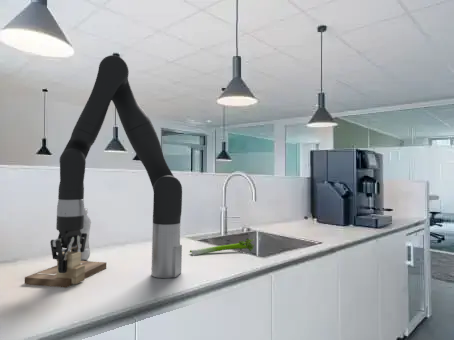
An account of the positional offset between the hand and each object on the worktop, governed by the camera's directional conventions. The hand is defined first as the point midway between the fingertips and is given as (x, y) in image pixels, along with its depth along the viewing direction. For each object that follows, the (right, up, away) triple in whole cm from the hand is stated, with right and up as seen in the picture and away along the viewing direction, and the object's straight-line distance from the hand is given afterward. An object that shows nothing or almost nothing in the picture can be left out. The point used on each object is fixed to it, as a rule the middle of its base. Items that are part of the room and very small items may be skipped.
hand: (68, 269), depth 97 cm
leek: (+47, -7, +44) cm, 64 cm away
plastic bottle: (-8, -5, +26) cm, 27 cm away
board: (-3, -4, +7) cm, 9 cm away
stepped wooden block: (0, -3, 0) cm, 3 cm away
